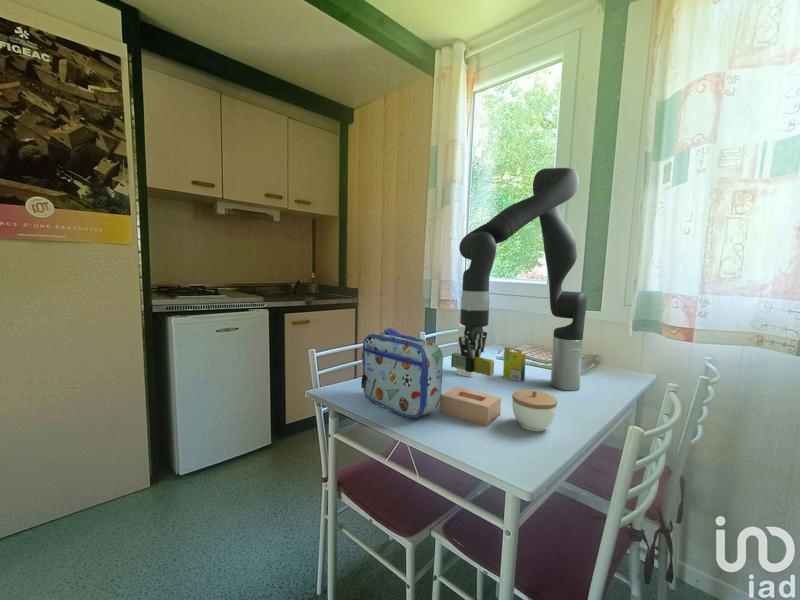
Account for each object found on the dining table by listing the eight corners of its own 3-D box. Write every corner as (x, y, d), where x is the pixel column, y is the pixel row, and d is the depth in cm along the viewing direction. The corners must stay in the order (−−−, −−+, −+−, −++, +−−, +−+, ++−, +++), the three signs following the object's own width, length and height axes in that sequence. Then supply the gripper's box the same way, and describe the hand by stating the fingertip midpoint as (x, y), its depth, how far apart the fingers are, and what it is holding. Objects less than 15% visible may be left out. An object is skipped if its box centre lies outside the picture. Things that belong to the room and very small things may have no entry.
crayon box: (524, 380, 128) (526, 349, 127) (520, 382, 126) (522, 350, 125) (507, 375, 134) (508, 345, 133) (502, 377, 132) (504, 346, 131)
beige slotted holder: (454, 402, 105) (455, 386, 105) (500, 414, 97) (501, 397, 96) (439, 412, 98) (440, 394, 97) (487, 426, 90) (488, 407, 89)
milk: (463, 371, 139) (465, 316, 137) (477, 374, 135) (479, 317, 134) (456, 374, 134) (458, 317, 132) (471, 377, 130) (473, 319, 129)
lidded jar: (503, 425, 90) (504, 390, 90) (522, 414, 98) (524, 381, 97) (544, 440, 83) (546, 401, 82) (562, 426, 90) (564, 391, 89)
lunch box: (353, 398, 107) (354, 326, 106) (379, 390, 115) (380, 323, 113) (420, 428, 88) (422, 341, 86) (445, 416, 95) (448, 336, 93)
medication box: (450, 367, 99) (450, 353, 99) (455, 365, 101) (455, 351, 101) (489, 376, 91) (490, 361, 91) (494, 374, 93) (495, 359, 93)
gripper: (472, 305, 103) (470, 363, 104) (450, 308, 91) (447, 373, 93) (497, 307, 98) (494, 367, 100) (477, 310, 87) (474, 378, 88)
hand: (472, 370), depth 96 cm, fingers closed on medication box, 3 cm apart
